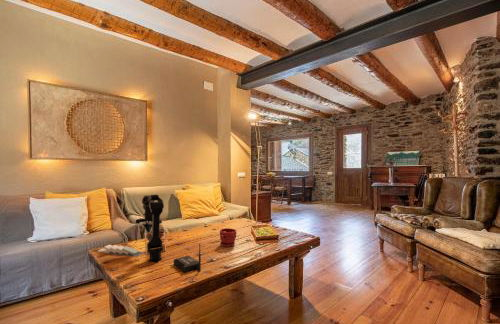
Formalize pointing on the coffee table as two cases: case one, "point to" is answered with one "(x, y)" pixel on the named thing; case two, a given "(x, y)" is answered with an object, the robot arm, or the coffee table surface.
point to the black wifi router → (188, 263)
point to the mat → (126, 254)
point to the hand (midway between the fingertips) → (148, 232)
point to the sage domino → (130, 250)
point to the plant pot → (227, 237)
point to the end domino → (104, 251)
